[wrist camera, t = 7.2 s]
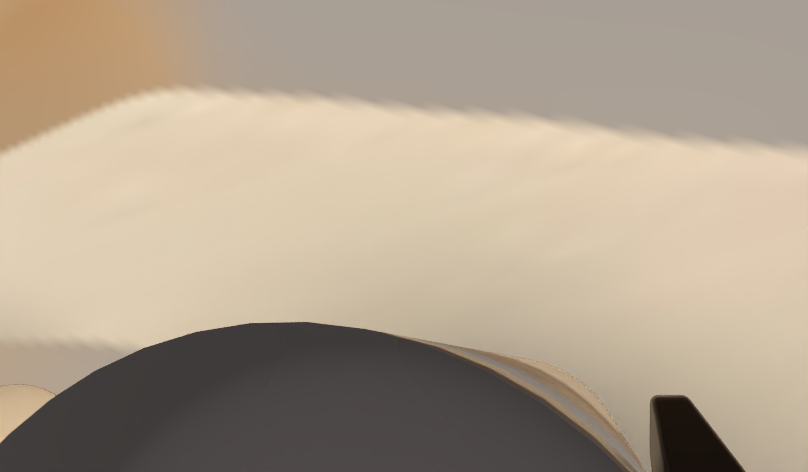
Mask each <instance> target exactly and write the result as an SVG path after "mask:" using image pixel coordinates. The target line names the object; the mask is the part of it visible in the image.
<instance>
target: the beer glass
mask: <svg viewBox="0 0 808 472" xmlns="http://www.w3.org/2000/svg"><path fill="white" fill-rule="evenodd" d="M55 396H56V395H55V394H53V393H51V392H49V391H47V390H45V389H42V388H39V387H35V386H31V385H24V384H22V385H21V384H14V385H5V386H0V443H1V442H2V441H3V440H4V439H5V438H6V437H7V435H9V434H10V433H11V432H12V431H13V430H15V429H16V428H17V427H18V426H19V425H20V424H22V423H23V422H24V421H25V420H26V419H28V418H29V417H30V416H31V415H32V414H34V413H35V412H36V411H37V410H38V409H40V408H41V407H42V406H43V405H44V404H46V403H47V402H48V401H49V400H50V399H52V398H54V397H55Z"/></svg>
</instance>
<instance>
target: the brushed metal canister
mask: <svg viewBox="0 0 808 472" xmlns="http://www.w3.org/2000/svg"><path fill="white" fill-rule="evenodd" d="M0 472H645V470H644V469H643V467H642V465H641V464H640V462H639V461H638V459H637V457H636V456H635V454H634V453H633V451H632V449H631V448H630V446H629V445H628V443H627V441H626V440H625V438H624V436H623V435H622V433H621V432H620V430H619V428H618V427H617V425H616V424H615V422H614V420H613V419H612V417H611V416H610V414H609V412H608V411H607V409H606V408H605V406H604V405H603V404H602V403H601V402H600V400H599V399H598V398H597V397H596V396H595V395H594V394H593V393H592V392H591V391H590V390H589V389H588V388H587V387H586V386H585V385H584V384H582V383H581V382H579V381H578V380H577V379H575V378H574V377H573V376H571V375H569V374H567V373H565V372H564V371H562V370H560V369H558V368H555V367H553V366H550V365H548V364H544V363H540V362H536V361H532V360H527V359H522V358H516V357H511V356H506V355H500V354H495V353H490V352H484V351H479V350H474V349H468V348H463V347H458V346H452V345H447V344H442V343H436V342H431V341H426V340H420V339H415V338H409V337H404V336H399V335H393V334H388V333H383V332H377V331H372V330H367V329H360V328H351V327H343V326H335V325H326V324H318V323H310V322H291V323H249V324H243V325H237V326H231V327H224V328H218V329H212V330H206V331H200V332H195V333H191V334H188V335H185V336H182V337H178V338H175V339H172V340H169V341H165V342H162V343H159V344H156V345H153V346H149V347H146V348H143V349H141V350H139V351H137V352H135V353H133V354H130V355H128V356H126V357H124V358H122V359H120V360H118V361H115V362H113V363H111V364H109V365H107V366H105V367H103V368H100V369H98V370H96V371H94V372H93V373H91V374H90V375H88V376H86V377H85V378H84V379H82V380H80V381H79V382H77V383H76V384H74V385H72V386H71V387H69V388H68V389H66V390H65V391H63V392H61V393H60V394H58V395H57V396H55V397H54V398H52V399H50V400H49V401H48V402H47V403H46V404H44V405H43V406H42V407H41V408H40V409H38V410H37V411H36V412H35V413H34V414H32V415H31V416H30V417H29V418H28V419H26V420H25V421H24V422H23V423H22V424H20V425H19V426H18V427H17V428H16V429H15V430H13V431H12V432H11V433H10V434H9V435H7V437H6V438H5V439H4V440H3V441H2V442H1V443H0Z"/></svg>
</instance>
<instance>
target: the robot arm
mask: <svg viewBox="0 0 808 472" xmlns="http://www.w3.org/2000/svg"><path fill="white" fill-rule="evenodd" d="M650 457H651V467H652V472H746V471H745V470H744V469H743V468H742V466H741V465H740V464H739V462H738V461H737V460H736V458H735V457H734V456H733V455H732V453H731V452H730V451H729V449H728V448H727V447H726V446H725V444H724V443H723V442H722V440H721V439H720V438H719V436H718V435H717V434H716V433H715V431H714V430H713V429H712V427H711V426H710V425H709V424H708V422H707V421H706V420H705V418H704V417H703V416H702V414H701V413H700V412H699V411H698V409H697V408H696V407H695V405H694V404H693V403H692V402H691V400H690V399H689V398H687V397H686V396H684V395H656V396H654V397H652V399H651V401H650Z"/></svg>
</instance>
